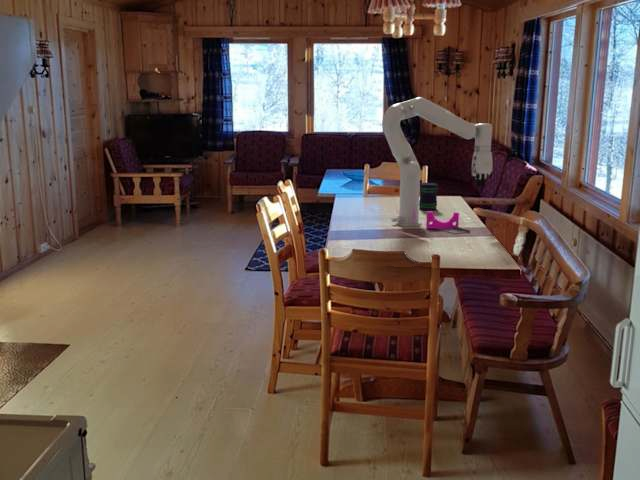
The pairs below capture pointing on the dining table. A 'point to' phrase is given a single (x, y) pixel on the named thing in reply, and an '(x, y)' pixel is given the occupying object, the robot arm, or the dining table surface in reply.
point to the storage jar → (428, 196)
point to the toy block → (442, 224)
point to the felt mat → (452, 230)
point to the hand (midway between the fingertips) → (480, 187)
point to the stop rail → (462, 229)
